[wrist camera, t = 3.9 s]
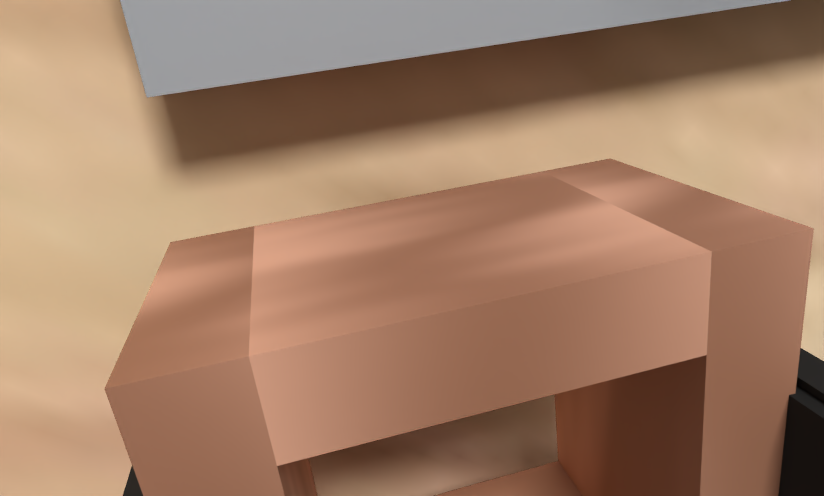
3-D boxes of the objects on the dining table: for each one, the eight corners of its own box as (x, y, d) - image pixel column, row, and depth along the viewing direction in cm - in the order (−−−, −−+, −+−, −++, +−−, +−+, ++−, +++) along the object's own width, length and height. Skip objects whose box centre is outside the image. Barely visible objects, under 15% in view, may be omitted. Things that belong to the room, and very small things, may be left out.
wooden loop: (610, 158, 10) (814, 228, 6) (614, 492, 12) (763, 684, 9) (170, 242, 9) (104, 389, 5) (271, 593, 11) (276, 863, 8)
